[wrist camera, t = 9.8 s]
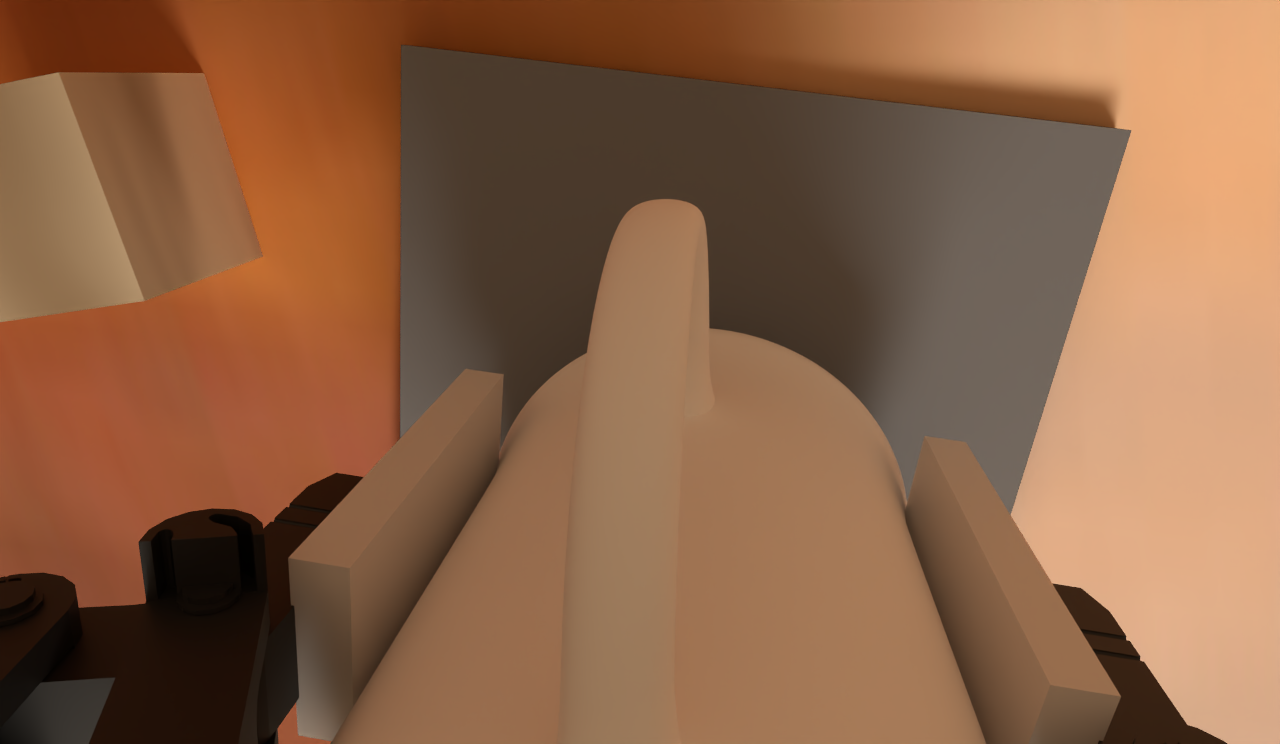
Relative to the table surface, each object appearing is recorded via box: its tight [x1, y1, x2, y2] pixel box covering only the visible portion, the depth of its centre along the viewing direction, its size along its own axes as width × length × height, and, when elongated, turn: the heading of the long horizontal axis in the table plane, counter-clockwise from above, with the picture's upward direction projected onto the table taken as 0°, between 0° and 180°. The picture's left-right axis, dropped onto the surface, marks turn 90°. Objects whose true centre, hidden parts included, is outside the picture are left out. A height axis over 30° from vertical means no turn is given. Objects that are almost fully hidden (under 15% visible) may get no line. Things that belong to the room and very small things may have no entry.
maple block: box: [0, 72, 263, 322], centre depth 16 cm, size 4×4×4 cm
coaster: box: [400, 45, 1131, 515], centre depth 18 cm, size 14×14×1 cm
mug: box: [331, 199, 986, 744], centre depth 11 cm, size 12×8×12 cm
